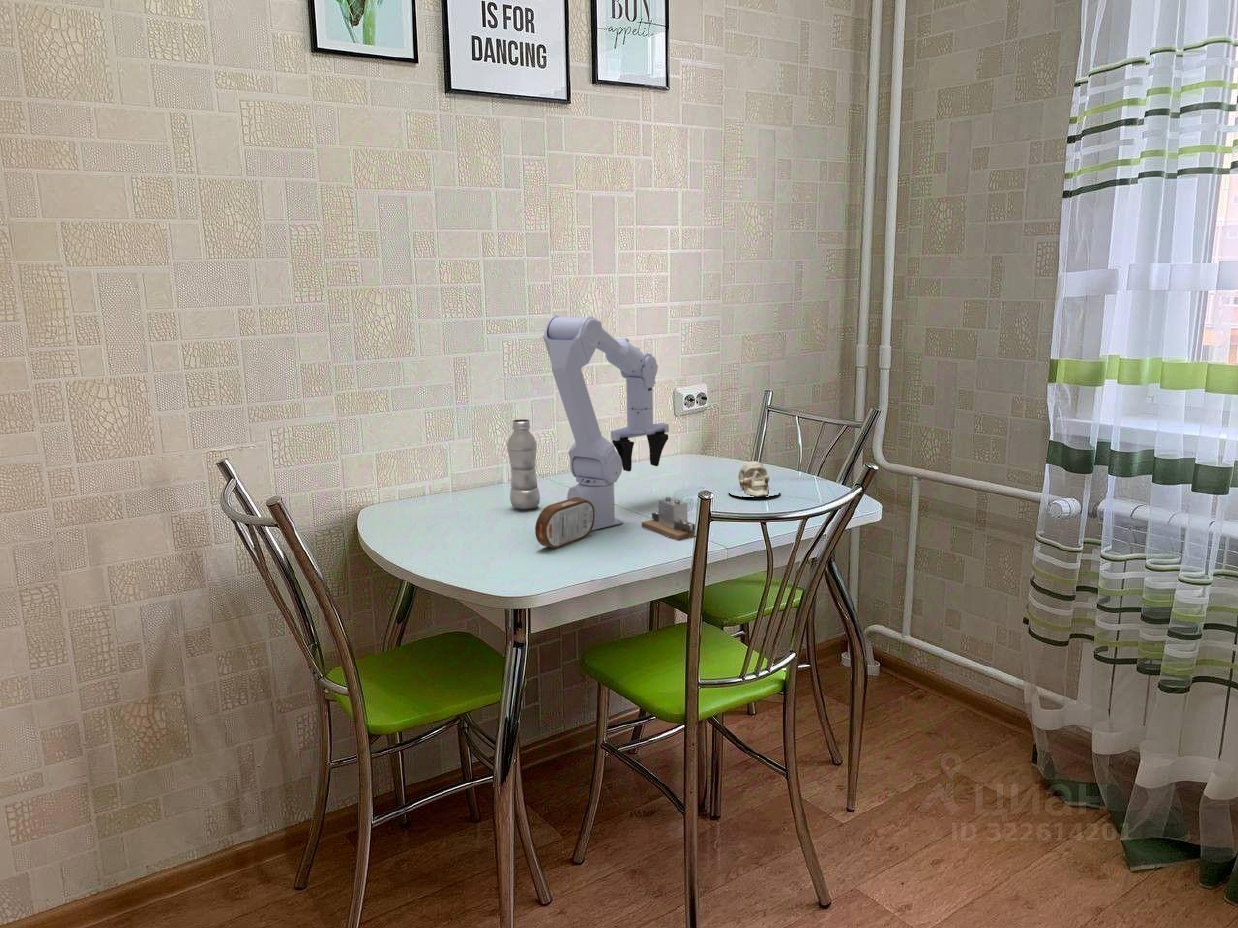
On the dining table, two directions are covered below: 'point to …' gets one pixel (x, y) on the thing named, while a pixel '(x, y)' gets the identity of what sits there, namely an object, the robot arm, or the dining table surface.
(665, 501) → the grey toy brick
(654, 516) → the chain ends
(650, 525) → the board
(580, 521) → the tin
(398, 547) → the dining table surface
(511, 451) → the plastic bottle
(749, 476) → the skull
